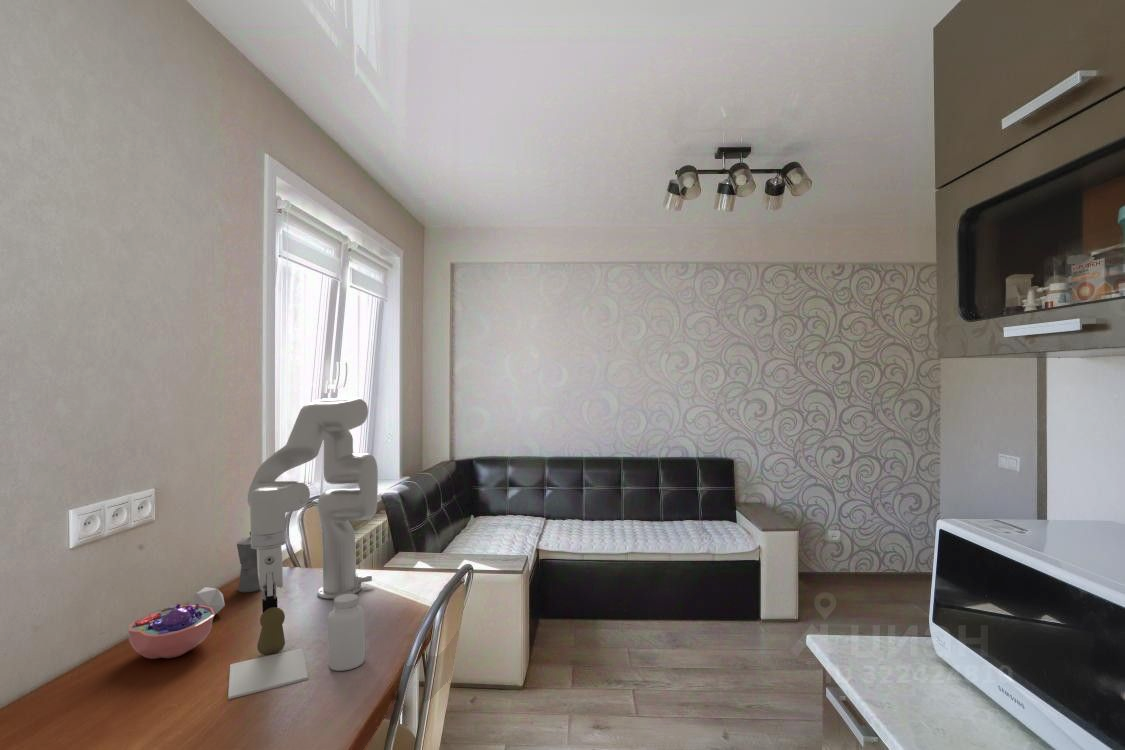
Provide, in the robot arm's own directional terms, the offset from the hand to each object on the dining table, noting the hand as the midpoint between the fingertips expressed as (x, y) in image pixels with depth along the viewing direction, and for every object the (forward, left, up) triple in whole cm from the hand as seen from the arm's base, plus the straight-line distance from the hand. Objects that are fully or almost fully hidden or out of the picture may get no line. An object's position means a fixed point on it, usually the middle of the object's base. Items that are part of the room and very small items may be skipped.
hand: (270, 615), depth 138 cm
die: (+15, -34, -9) cm, 38 cm away
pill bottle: (-15, +16, -9) cm, 24 cm away
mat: (+1, +11, -9) cm, 14 cm away
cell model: (+21, -13, -9) cm, 26 cm away
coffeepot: (+3, -53, -9) cm, 54 cm away
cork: (0, -1, -7) cm, 7 cm away
